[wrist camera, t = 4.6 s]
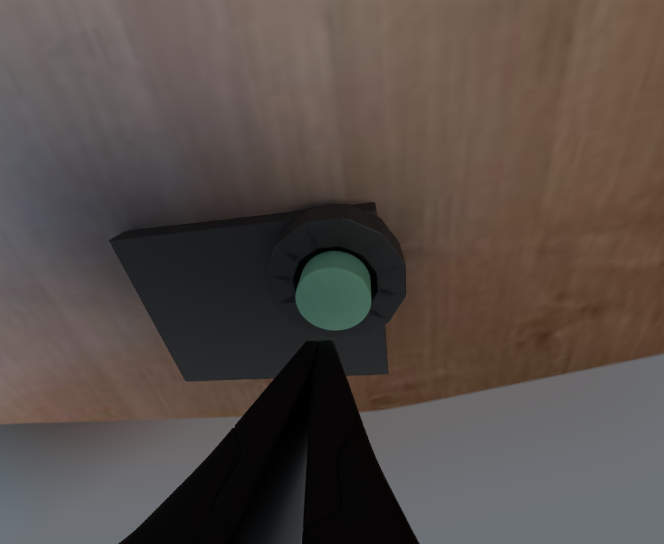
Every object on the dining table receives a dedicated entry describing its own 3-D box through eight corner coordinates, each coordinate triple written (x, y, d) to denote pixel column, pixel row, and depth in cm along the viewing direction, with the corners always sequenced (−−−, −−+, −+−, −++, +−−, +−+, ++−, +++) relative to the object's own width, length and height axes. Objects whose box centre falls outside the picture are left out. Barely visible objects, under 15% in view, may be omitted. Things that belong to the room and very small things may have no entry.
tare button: (367, 246, 12) (368, 264, 11) (372, 306, 14) (374, 329, 12) (295, 253, 13) (287, 271, 11) (308, 311, 14) (302, 333, 13)
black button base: (395, 190, 13) (404, 210, 11) (402, 358, 19) (409, 400, 16) (120, 223, 15) (72, 247, 13) (194, 367, 20) (169, 406, 18)
